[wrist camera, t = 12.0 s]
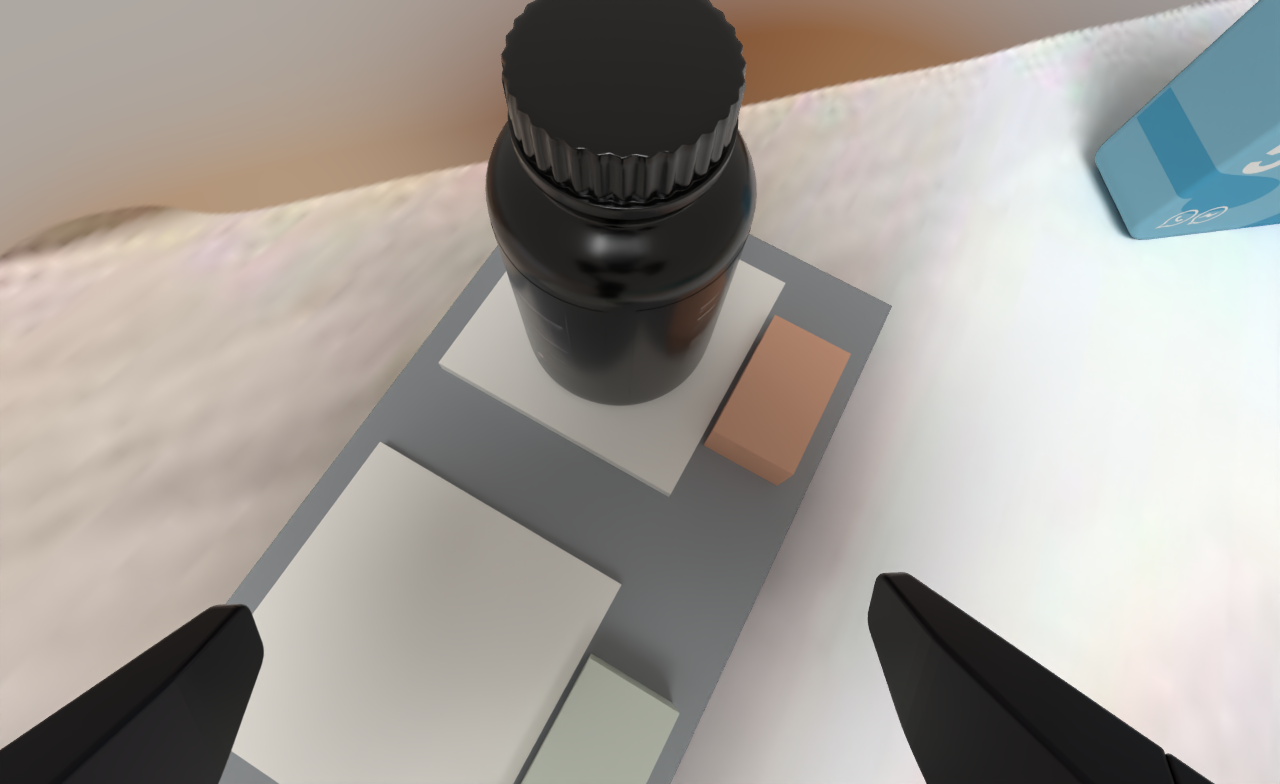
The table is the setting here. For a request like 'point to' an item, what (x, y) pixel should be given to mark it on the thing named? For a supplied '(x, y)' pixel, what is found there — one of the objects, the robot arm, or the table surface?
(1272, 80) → the blue rounded square block
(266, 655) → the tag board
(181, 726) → the robot arm
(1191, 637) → the table surface
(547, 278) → the supplement bottle
